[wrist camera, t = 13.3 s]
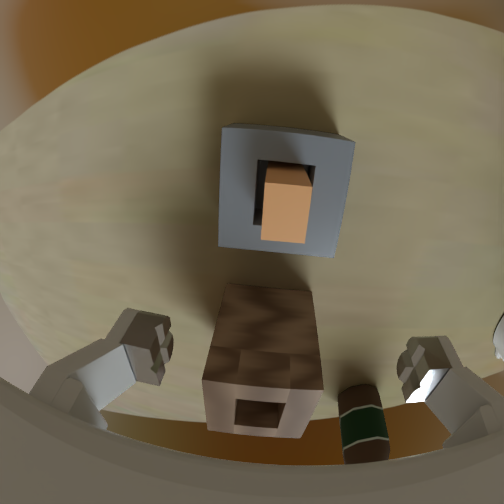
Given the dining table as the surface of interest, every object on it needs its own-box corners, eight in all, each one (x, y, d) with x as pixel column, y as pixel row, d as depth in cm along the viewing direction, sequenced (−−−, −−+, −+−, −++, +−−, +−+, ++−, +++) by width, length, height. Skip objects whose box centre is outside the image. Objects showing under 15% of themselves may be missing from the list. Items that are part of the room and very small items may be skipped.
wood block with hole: (311, 291, 33) (323, 390, 21) (297, 348, 38) (300, 438, 26) (226, 283, 34) (201, 379, 22) (225, 341, 39) (207, 429, 26)
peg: (302, 163, 25) (312, 187, 18) (297, 204, 27) (304, 243, 20) (268, 160, 25) (264, 182, 18) (265, 202, 27) (260, 239, 20)
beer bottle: (328, 394, 44) (337, 525, 22) (370, 377, 41) (394, 512, 20) (345, 410, 46) (355, 525, 25) (383, 395, 44) (404, 513, 23)
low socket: (339, 134, 25) (355, 142, 20) (324, 229, 30) (333, 258, 24) (233, 123, 25) (222, 127, 20) (228, 219, 30) (218, 246, 25)
